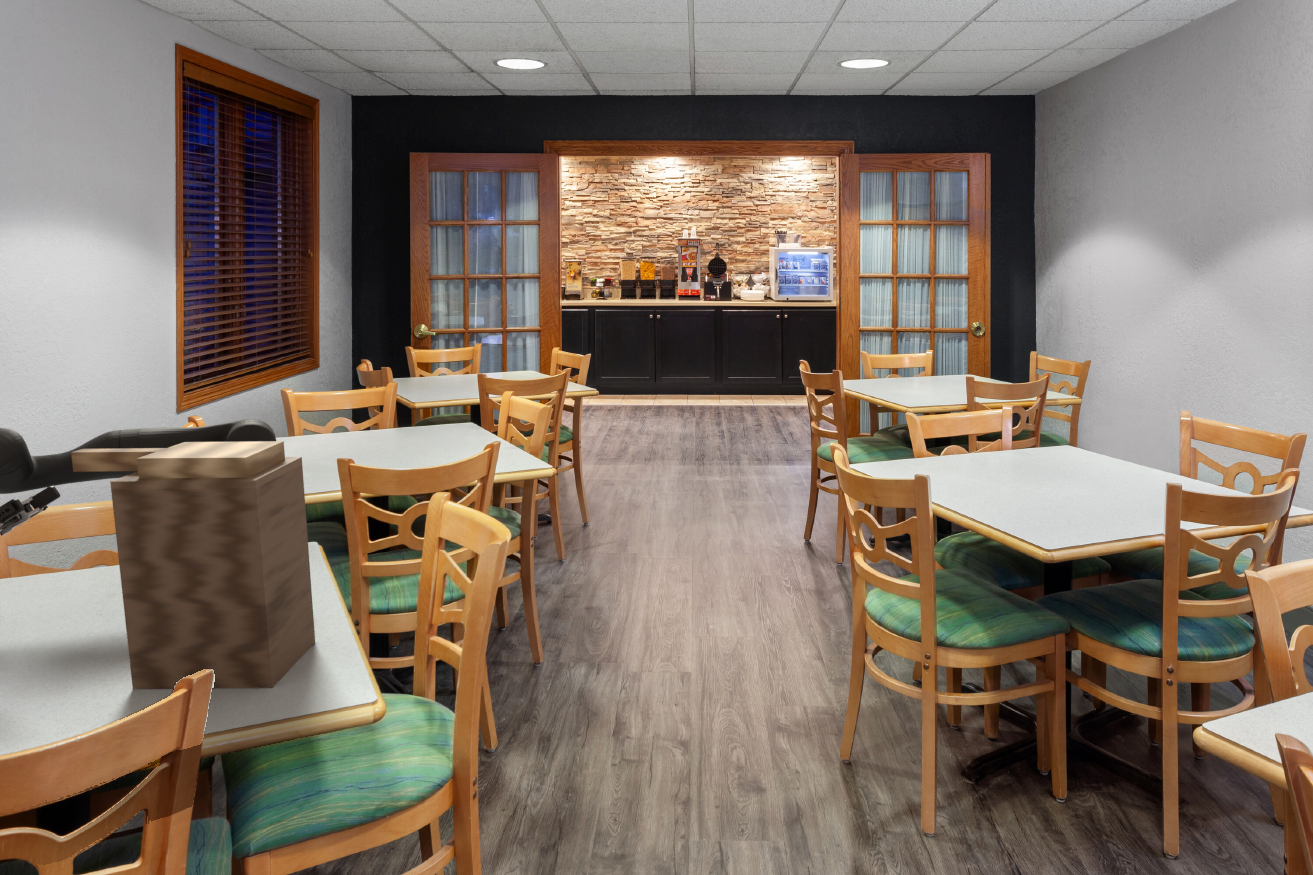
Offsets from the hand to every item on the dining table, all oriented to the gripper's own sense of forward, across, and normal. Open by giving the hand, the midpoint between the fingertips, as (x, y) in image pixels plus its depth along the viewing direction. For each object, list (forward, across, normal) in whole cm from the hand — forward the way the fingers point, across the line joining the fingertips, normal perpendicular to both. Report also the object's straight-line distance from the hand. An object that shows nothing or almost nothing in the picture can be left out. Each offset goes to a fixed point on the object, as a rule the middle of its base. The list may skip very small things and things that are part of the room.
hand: (38, 497), depth 143 cm
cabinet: (+10, 0, +38) cm, 39 cm away
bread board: (+21, 0, +7) cm, 22 cm away
